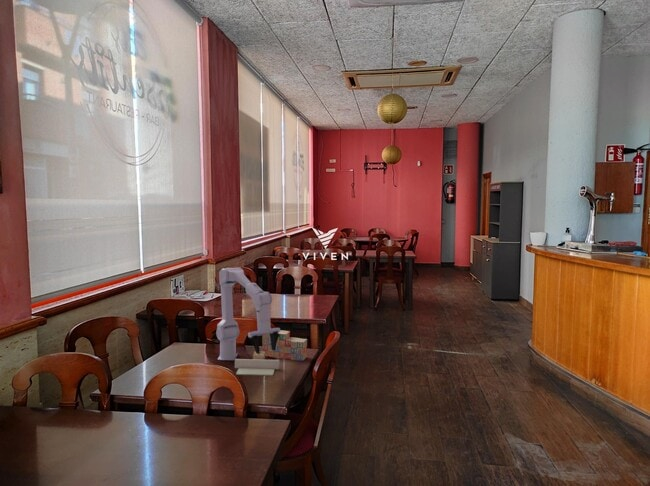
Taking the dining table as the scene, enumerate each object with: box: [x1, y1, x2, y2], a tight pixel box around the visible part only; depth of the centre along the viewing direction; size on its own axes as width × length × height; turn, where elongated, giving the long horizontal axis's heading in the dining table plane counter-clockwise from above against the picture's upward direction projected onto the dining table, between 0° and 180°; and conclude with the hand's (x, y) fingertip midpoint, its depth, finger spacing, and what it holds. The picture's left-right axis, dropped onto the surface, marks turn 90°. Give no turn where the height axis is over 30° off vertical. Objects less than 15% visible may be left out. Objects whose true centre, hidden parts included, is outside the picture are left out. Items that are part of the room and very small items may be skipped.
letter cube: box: [252, 351, 266, 360], centre depth 207 cm, size 5×5×5 cm
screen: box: [234, 358, 280, 370], centre depth 200 cm, size 1×20×4 cm, turn 91°
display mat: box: [235, 368, 275, 377], centre depth 195 cm, size 7×16×1 cm, turn 91°
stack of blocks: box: [261, 329, 308, 362], centre depth 218 cm, size 21×6×12 cm, turn 73°
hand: (265, 351), depth 192 cm, fingers open, 7 cm apart
